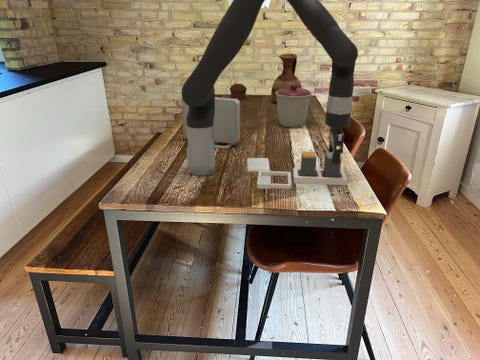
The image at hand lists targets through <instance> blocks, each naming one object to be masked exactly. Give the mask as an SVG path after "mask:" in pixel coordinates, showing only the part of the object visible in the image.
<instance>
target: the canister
mask: <svg viewBox="0 0 480 360" xmlns="http://www.w3.org/2000/svg"><path fill="white" fill-rule="evenodd" d="M297 87H298V85H297V84H296V83H292V84H291V88H282V89H279V90H278V91H276V92H275V93H276V95H277V102H276V105H277V106H276V108H277V118H278V124H280V125H281V126H283V127H285V128H294V129H295V128H302V127H303V126H304V125H305V123H306V121H307V118H308V117H307V116H308V111H309V107H310V102H311V96H312V95H313V92H312V91H310V90H309V89H306V88H303V87H302V88H297Z"/></svg>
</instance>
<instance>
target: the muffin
mask: <svg viewBox="0 0 480 360" xmlns="http://www.w3.org/2000/svg"><path fill="white" fill-rule="evenodd" d="M247 90H248V89H247V86H245V85H244V84H243V83H235V84H233V85H231V86H230V88H229V91H230V97H231V99H238V100H239V101H240V102H241V101H244V100H245V99H246V96H247V95H246V94H247Z"/></svg>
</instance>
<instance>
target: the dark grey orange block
mask: <svg viewBox="0 0 480 360" xmlns="http://www.w3.org/2000/svg"><path fill="white" fill-rule="evenodd" d="M300 159H301V161H300V168H301V169H300V176H309V177H315V170H316V169H317V155H316V151H312V150H311V151H309V150H308V151H307V150H305V151H304V150H303V151H302V153H301V158H300Z"/></svg>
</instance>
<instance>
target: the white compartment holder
mask: <svg viewBox="0 0 480 360" xmlns="http://www.w3.org/2000/svg"><path fill="white" fill-rule="evenodd" d="M292 168H293V169H292V170H293V171H292V175H293V177H292V178H293V184H303V185H304V184H305V185H324V186H325V185H331V186H348V185H347V184H348V177H347V175H346V173H345V171H344V169H340V174H339V178H333V177H323V173H324V168H316V170H315V177H309V176H300V169H301V167H292Z"/></svg>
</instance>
